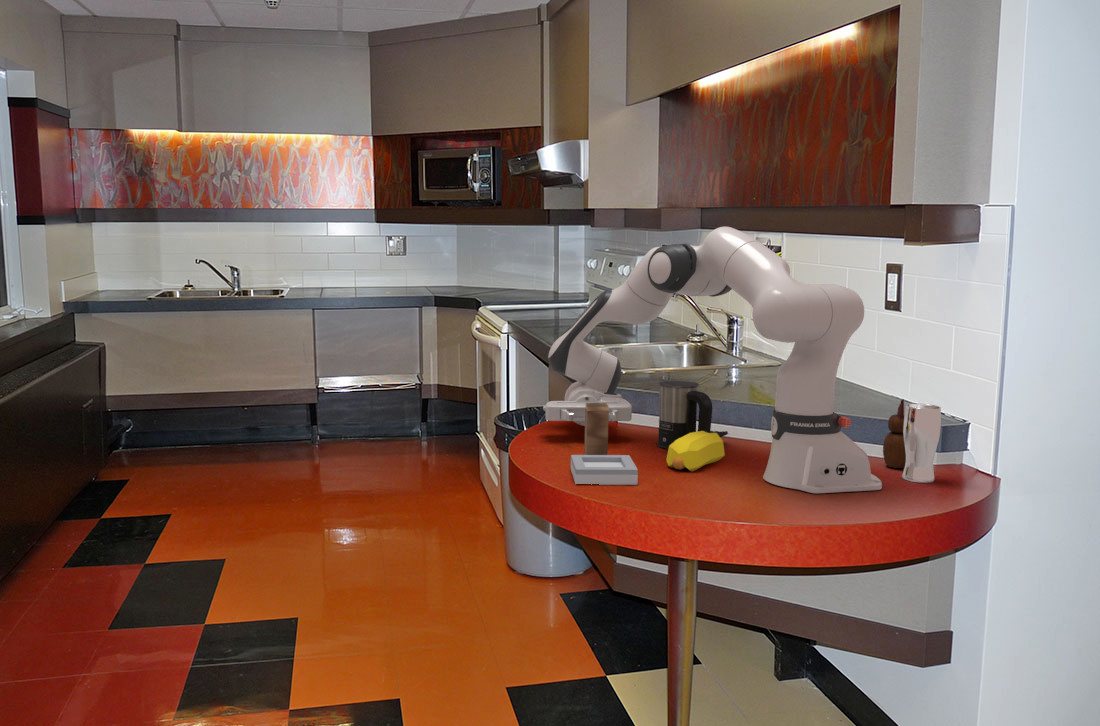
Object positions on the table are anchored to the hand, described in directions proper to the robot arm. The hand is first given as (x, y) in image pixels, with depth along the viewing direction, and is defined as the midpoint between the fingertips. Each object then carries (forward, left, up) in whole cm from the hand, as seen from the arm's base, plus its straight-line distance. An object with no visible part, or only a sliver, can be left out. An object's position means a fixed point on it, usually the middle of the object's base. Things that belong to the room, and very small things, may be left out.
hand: (591, 417), depth 208 cm
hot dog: (-21, +15, -7) cm, 27 cm away
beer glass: (-64, +27, -7) cm, 70 cm away
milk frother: (-24, -3, -7) cm, 25 cm away
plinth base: (0, +26, -7) cm, 27 cm away
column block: (0, +12, -7) cm, 14 cm away
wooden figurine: (-64, +17, -7) cm, 66 cm away
